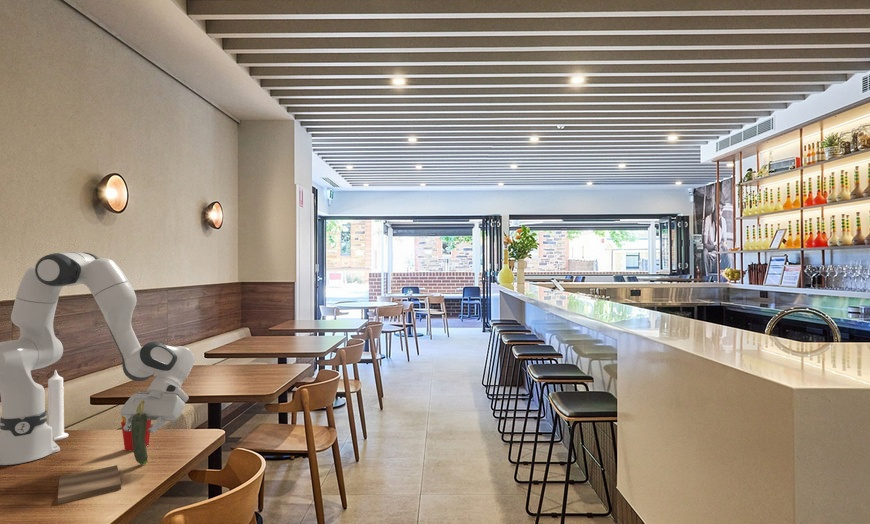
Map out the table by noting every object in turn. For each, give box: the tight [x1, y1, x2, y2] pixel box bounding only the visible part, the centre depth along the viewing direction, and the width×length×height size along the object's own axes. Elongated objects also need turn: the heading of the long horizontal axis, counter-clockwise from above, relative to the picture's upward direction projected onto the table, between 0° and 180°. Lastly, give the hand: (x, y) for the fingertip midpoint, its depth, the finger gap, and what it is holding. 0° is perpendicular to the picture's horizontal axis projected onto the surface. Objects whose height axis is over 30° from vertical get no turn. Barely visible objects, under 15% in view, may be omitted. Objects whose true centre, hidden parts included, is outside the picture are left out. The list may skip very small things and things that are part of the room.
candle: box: [47, 369, 69, 442], centre depth 184 cm, size 7×7×25 cm
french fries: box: [120, 415, 152, 450], centre depth 172 cm, size 9×4×13 cm, turn 131°
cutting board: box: [57, 464, 122, 505], centre depth 141 cm, size 17×14×2 cm
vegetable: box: [131, 400, 148, 466], centre depth 156 cm, size 4×4×20 cm
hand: (138, 431), depth 155 cm, fingers open, 8 cm apart
